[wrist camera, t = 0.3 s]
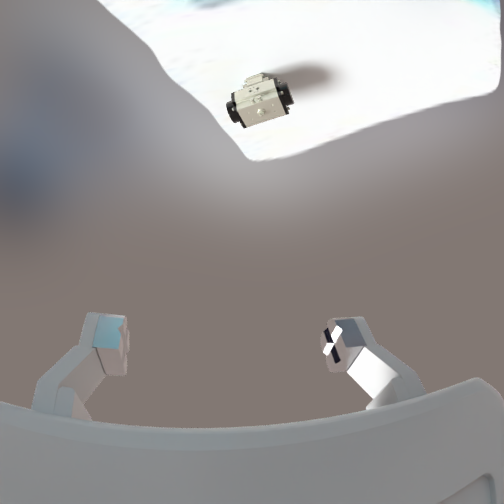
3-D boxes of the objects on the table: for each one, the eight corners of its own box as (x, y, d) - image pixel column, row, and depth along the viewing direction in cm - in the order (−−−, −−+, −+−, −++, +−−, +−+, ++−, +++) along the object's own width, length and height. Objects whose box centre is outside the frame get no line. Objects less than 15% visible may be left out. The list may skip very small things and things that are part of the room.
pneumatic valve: (287, 81, 56) (297, 115, 51) (234, 98, 60) (236, 135, 55) (278, 60, 52) (288, 92, 46) (223, 79, 55) (224, 114, 50)
